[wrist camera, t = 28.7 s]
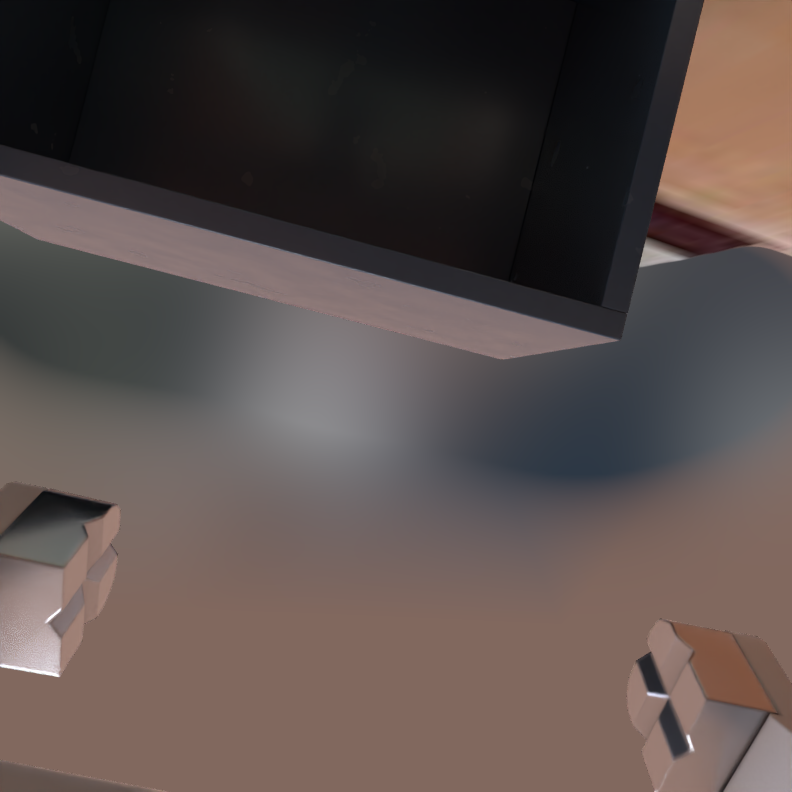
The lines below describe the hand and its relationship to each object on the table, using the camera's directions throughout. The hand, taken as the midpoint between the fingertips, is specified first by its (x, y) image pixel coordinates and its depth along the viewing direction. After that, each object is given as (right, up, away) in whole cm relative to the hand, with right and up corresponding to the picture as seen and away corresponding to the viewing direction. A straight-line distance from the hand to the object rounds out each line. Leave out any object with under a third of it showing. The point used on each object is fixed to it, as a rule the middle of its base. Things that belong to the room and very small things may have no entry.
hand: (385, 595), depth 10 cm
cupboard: (-1, +35, +28) cm, 45 cm away
